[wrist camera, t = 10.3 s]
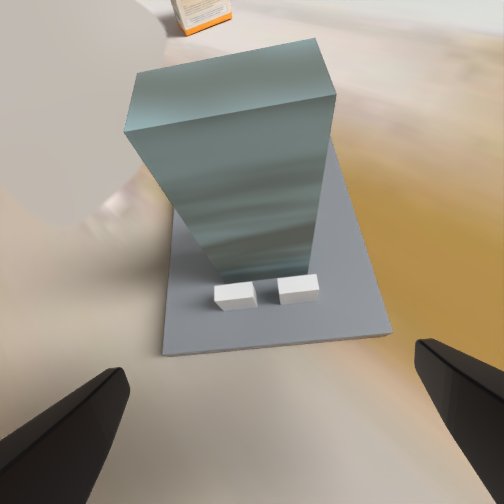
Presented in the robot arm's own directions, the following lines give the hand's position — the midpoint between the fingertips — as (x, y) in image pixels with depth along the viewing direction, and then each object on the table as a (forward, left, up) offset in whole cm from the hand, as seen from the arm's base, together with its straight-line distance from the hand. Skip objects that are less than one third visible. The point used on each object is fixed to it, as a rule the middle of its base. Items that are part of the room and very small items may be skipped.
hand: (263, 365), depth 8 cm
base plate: (+8, -8, -10) cm, 16 cm away
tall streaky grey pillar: (+6, -5, -9) cm, 12 cm away
